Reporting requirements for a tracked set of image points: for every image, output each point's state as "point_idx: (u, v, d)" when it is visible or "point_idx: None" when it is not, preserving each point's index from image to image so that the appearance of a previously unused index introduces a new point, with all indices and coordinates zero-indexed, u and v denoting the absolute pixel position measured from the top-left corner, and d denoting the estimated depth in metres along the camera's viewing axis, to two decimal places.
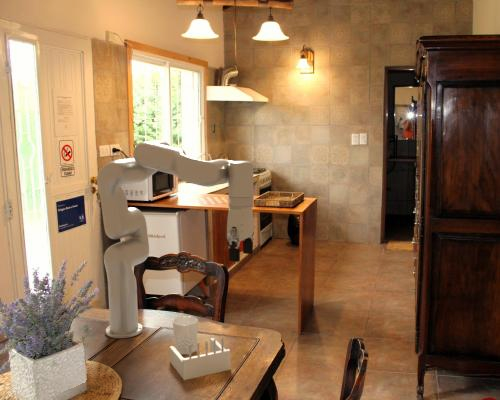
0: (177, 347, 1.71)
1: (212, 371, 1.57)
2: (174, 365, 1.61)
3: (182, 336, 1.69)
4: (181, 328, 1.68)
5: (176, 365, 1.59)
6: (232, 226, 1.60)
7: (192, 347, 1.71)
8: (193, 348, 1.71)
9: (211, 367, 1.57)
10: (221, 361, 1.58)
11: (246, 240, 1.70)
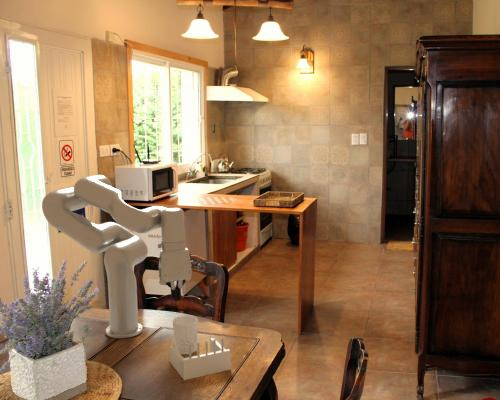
0: (177, 347, 1.71)
1: (212, 371, 1.57)
2: (174, 365, 1.61)
3: (182, 336, 1.69)
4: (181, 328, 1.68)
5: (176, 365, 1.59)
6: None
7: (192, 347, 1.71)
8: (193, 348, 1.71)
9: (211, 367, 1.57)
10: (221, 361, 1.58)
11: None
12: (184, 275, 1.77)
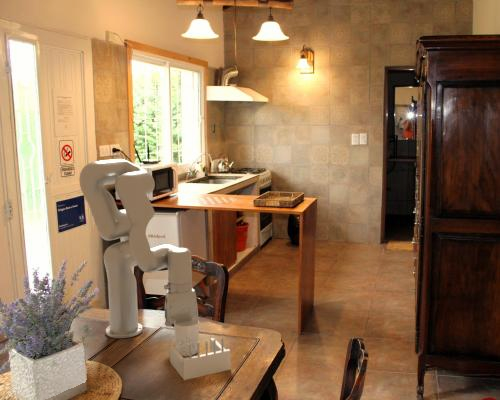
0: (178, 348, 1.70)
1: (212, 371, 1.57)
2: (174, 365, 1.61)
3: (183, 337, 1.68)
4: (182, 329, 1.67)
5: (176, 365, 1.59)
6: None
7: (193, 348, 1.70)
8: (194, 350, 1.70)
9: (211, 367, 1.57)
10: (221, 361, 1.58)
11: None
12: (190, 316, 1.74)
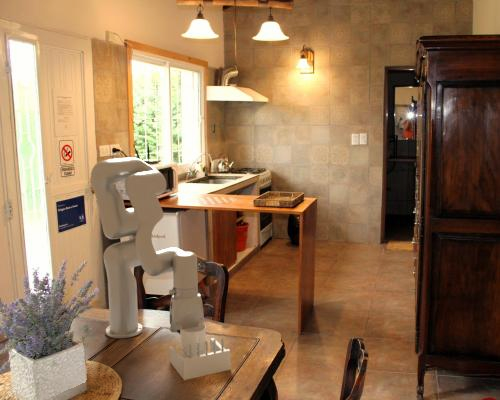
0: (185, 355, 1.65)
1: (212, 371, 1.57)
2: (174, 365, 1.61)
3: (191, 343, 1.63)
4: (190, 335, 1.63)
5: (176, 365, 1.59)
6: None
7: (201, 354, 1.66)
8: None
9: (211, 367, 1.57)
10: (221, 361, 1.58)
11: None
12: (196, 322, 1.69)
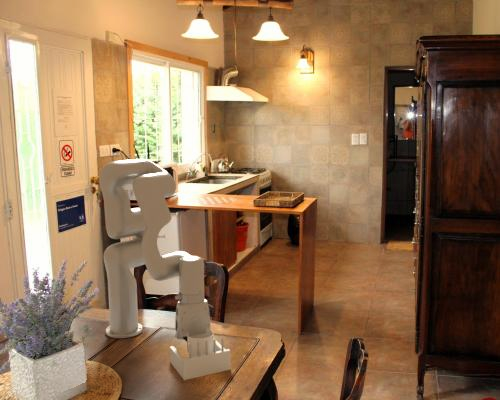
0: None
1: (212, 371, 1.57)
2: (174, 365, 1.61)
3: (200, 350, 1.59)
4: (199, 342, 1.58)
5: (176, 365, 1.59)
6: None
7: None
8: None
9: (211, 367, 1.57)
10: (221, 361, 1.58)
11: None
12: (202, 329, 1.64)
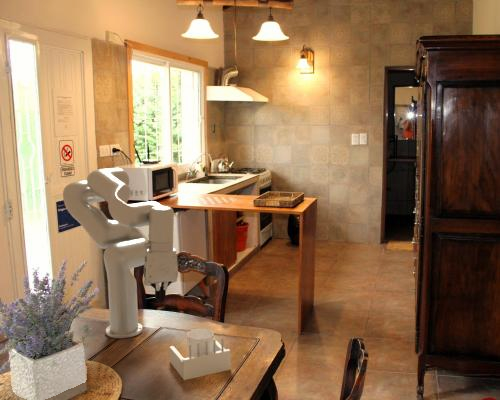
0: None
1: (212, 371, 1.57)
2: (174, 365, 1.61)
3: (200, 350, 1.59)
4: (199, 342, 1.58)
5: (176, 365, 1.59)
6: None
7: None
8: None
9: (211, 367, 1.57)
10: (221, 361, 1.58)
11: (159, 286, 1.72)
12: (170, 277, 1.70)
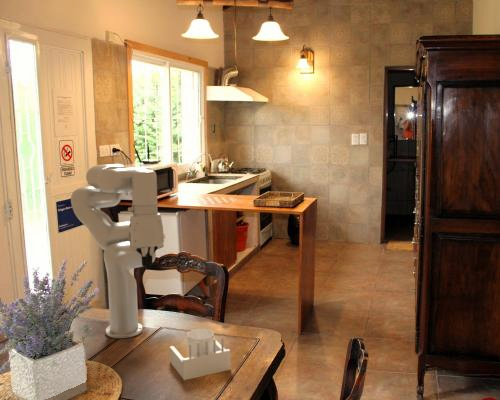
0: None
1: (212, 371, 1.57)
2: (174, 365, 1.61)
3: (200, 350, 1.59)
4: (199, 342, 1.58)
5: (176, 365, 1.59)
6: None
7: None
8: None
9: (211, 367, 1.57)
10: (221, 361, 1.58)
11: (146, 252, 1.69)
12: (156, 241, 1.67)
